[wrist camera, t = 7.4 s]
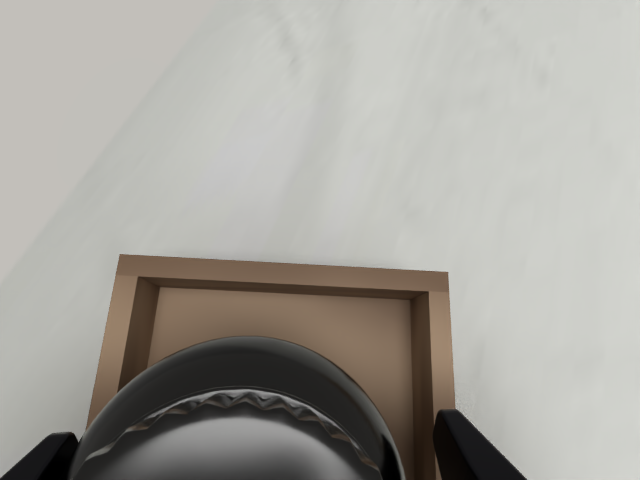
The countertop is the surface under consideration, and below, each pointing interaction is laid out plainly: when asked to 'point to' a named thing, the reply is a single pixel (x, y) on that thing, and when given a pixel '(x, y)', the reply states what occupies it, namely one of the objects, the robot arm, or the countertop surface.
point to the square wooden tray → (295, 330)
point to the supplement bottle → (239, 420)
